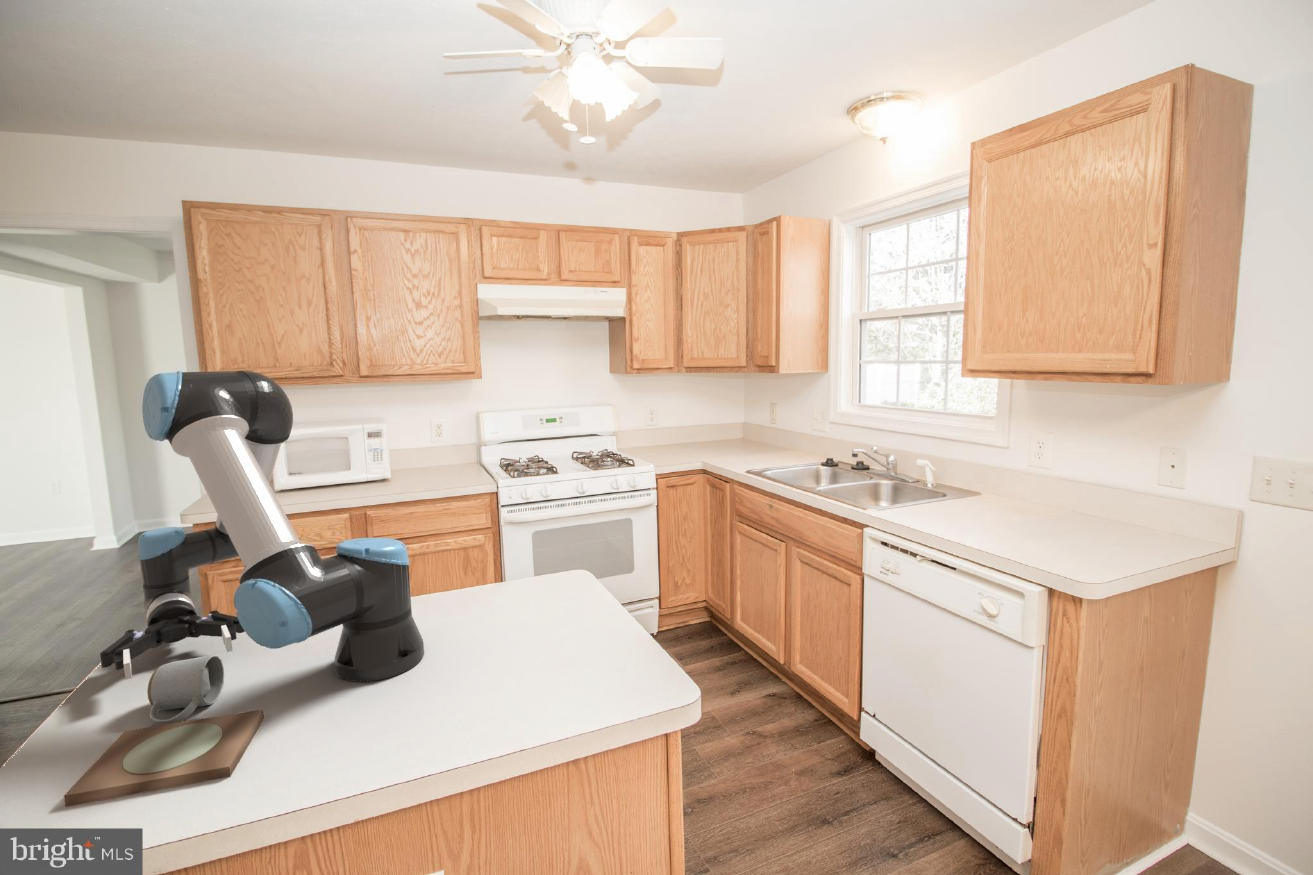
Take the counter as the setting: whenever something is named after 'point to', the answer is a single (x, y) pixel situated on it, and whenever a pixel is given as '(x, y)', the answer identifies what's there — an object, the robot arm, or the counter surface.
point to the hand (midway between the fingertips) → (180, 657)
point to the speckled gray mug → (185, 686)
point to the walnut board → (168, 757)
